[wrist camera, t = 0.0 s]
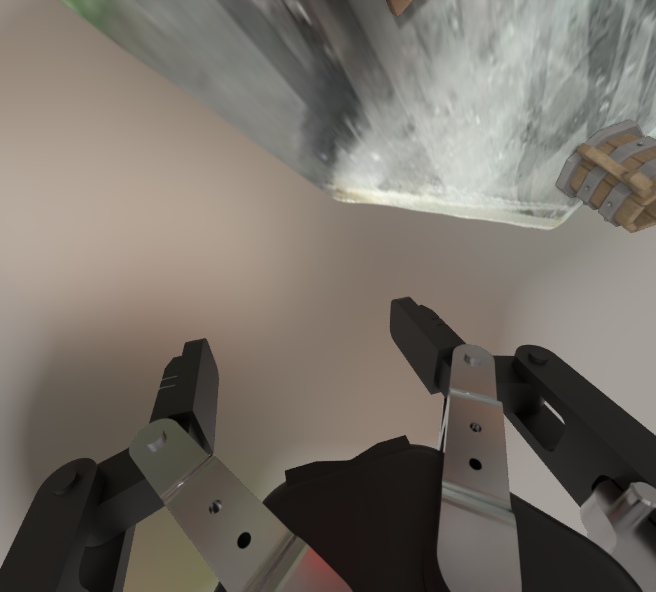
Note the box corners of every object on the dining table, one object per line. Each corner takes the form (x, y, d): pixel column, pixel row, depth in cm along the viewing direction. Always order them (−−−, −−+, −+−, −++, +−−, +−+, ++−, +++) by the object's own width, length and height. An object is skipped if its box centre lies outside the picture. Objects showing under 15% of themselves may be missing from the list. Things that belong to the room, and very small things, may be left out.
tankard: (642, 141, 54) (729, 188, 45) (572, 199, 61) (635, 249, 52) (607, 82, 43) (714, 129, 34) (527, 161, 50) (598, 216, 41)
